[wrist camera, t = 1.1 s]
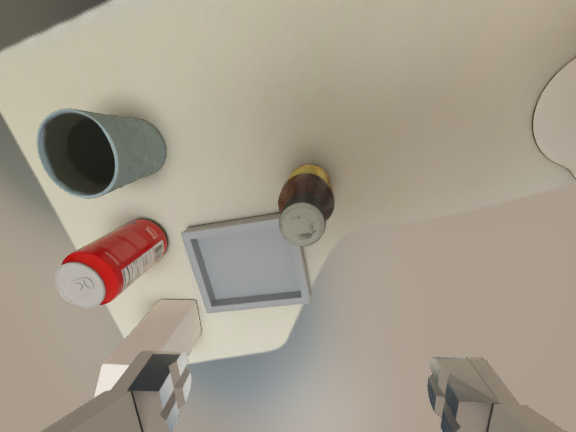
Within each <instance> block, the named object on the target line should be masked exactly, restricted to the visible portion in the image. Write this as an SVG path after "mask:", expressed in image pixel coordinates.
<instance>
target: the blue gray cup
mask: <svg viewBox="0 0 576 432" xmlns="http://www.w3.org/2000/svg"><path fill="white" fill-rule="evenodd" d="M37 150H38V155H39V158H40V160H41V163H42V165H43V167H44V169H45V171H46V172H47V174H48V176H49V177H50V178H51V179H52V181H53V182H54V183H55V184H56V185H58V186H59V187H60V188H61V189H63V190H64V191H66V192H67V193H69V194H71V195H73V196H76V197H80V198H86V199H90V198H97V197H100V196H103V195H105V194H107V193H109V192H111V191H113V190H115V189H117V188H120V187H123V186H124V185H126V184H129V183H132V182H134V181H136V180H137V179H140V178H142V177H146V176H148V175H151V174H153V173H155V172H156V171H158V170H159V169H160V168H161V166H162V165H163V163H164V161H165V157H166V146H165V143H164V140H163V138H162V136H161V134H160V133H159V131H158V130H157V129H156V128H155V127H154V126H153V125H151V124H150V123H148V122H146V121H144V120H141V119H136V118H123V117H118V116H114V115H104V114H100V113H93V112H88V111H82V110H76V109H61V110H58V111H55V112H53V113H51V114H50V115H48V116H47V117H46V118H45V119H44V120H43V122H42V123H41V125H40V127H39V130H38V134H37Z"/></svg>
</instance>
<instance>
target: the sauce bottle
mask: <svg viewBox="0 0 576 432" xmlns="http://www.w3.org/2000/svg"><path fill="white" fill-rule="evenodd" d="M278 204H279V205H278V206H279V212H280V214H281V215H280V219H279V229H280V232H281V234H282V235H283V237H284V238H285V239H286V240H287V241H288V242H290V243H292V244H294V245H297V246H308V245H311V244H313V243H315V242H317V241H318V240H319V239H320V238H321V237H322V235H323V233H324V231H325V227H326V221H327V220H328V219H329V217H330V216H331V214H332V212H333V209H334V195H333V191H332V187H331V182H330V179H329V176H328V175H327V173H326V172H325V171H324V170H323V169H322V168H320V167H318V166H316V165H310V164H306V165H303V166H300V167H298V168H297V169H296V170H294V171H293V173H292V174H291V175H290V177H289V178H288V180H287V182H286V183H285V185H284V186H283V188H282V191H281V193H280V196H279V201H278Z"/></svg>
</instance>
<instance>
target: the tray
mask: <svg viewBox="0 0 576 432" xmlns="http://www.w3.org/2000/svg"><path fill="white" fill-rule="evenodd" d="M280 215H281V214H280V213H274V214H268V215H261V216H255V217H248V218H242V219H235V220H229V221H222V222H216V223H209V224H203V225H196V226H190V227H188V228H187V229H186V230H184V231H183V232H182V233H181V235H182V238H183V241H184V245H185V248H186V251H187V254H188V257H189V260H190V263H191V266H192V269H193V272H194V275H195V278H196V281H197V284H198V287H199V290H200V293H201V296H202V299H203V302H204V305H205V308H206V311H207V313H215V312H225V311H235V310H245V309H255V308H265V307H275V306H285V305H295V304H305V303H310V300H311V290H310V285H309V280H308V275H307V270H306V264H305V259H304V254H303V249H302V246H297V245H294V244H292V243H290V242H288V241H287V240H286V239H285V238H284V237H283V235H282V234H281V232H280V229H279V219H280Z"/></svg>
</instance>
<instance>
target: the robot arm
mask: <svg viewBox="0 0 576 432" xmlns="http://www.w3.org/2000/svg"><path fill="white" fill-rule="evenodd" d="M533 131H534V136H535V140H536V143H537V145H538V147H539V148H540V150H541V151H542V153H543V154H544V155H545V156H546V157H547V158H549V159H550V160H552V161H553V162H555V163H557V164H559V165H561V166H564V167H566V168H567V169H569V170H570V171H571V173H572V174H573V176H574V177H575V178H576V58H575V59H573V60H572V61H571V62H570V63H568V64H567V65H566V66H565V67H564V68H562V69H561V70H560V71H559V72H558V73H557V74H556V75H555V76H554V77H553V79H552V80H551V81H550V82H549V84H548V85H547V86H546V88H545V90H544V91H543V93H542V95H541V97H540V99H539V101H538V104H537V106H536V110H535V114H534V120H533ZM187 363H188V357H187V353H184V352H170V351H142V352H140V353H139V354H138V355H137V356H136V358H135V359H134V360H133V362H132V363H131V364H130V365H129V367H128V368H127V369H126V371H125V372H124V373H123V375H122V376H121V377H120V378H119V380H118V381H117V382H116V384H115V385H114V386H113V388H112V389H111V390H110V391H104V392H103V393H101V394H99V395H98V396H96V397H95V398H93V399H92V400H90V401H88V402H87V403H85V404H84V405H82V406H80V407H79V408H77V409H76V410H74V411H73V412H71V413H69V414H68V415H66V416H65V417H63V418H62V419H60V420H58V421H57V422H55V423H54V424H52V425H50V426H49V427H47V428H46V429H44V430H43V431H41V432H172V431H173V429H174V427H175V424H176V422H177V420H178V418H179V412H178V409H179V408H180V407H181V406H182V405H184V404H185V403H186V400H187V398H188V396H189V393H190V388H191V373H190V371H189V370H188V369H187V368H186V365H187ZM430 369H431V371H432V373H433V374H432V375H431V376H430V377H429V378H428V386H427V387H428V395H429V399H430V403H431V405H432V408H433V410H434V412H435V413H436V414H437V415H438V416H439V417H441V419H442V420H441V429H442V431H443V432H567V431H565V430H564V429H562V428H561V427H559V426H557V425H556V424H554V423H553V422H551V421H550V420H548V419H547V418H545V417H544V416H542V415H541V414H539V413H538V412H536V411H535V410H533V409H531V408H530V407H528V406H527V405H520V404H519V402H518V401H517V400H516V398H515V397H514V396H513V394H512V393H511V392H510V391H509V389H508V388H507V387H506V385H505V384H504V383H503V381H502V380H501V379H500V377H499V376H498V375H497V373H496V372H495V371H494V370H493V368H492V367H491V366H490V364H489V363H488V362H487V360H485V359H484V358H483V357H480V358H479V357H465V358H463V357H461V358H460V357H432V359H431V360H430Z"/></svg>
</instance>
